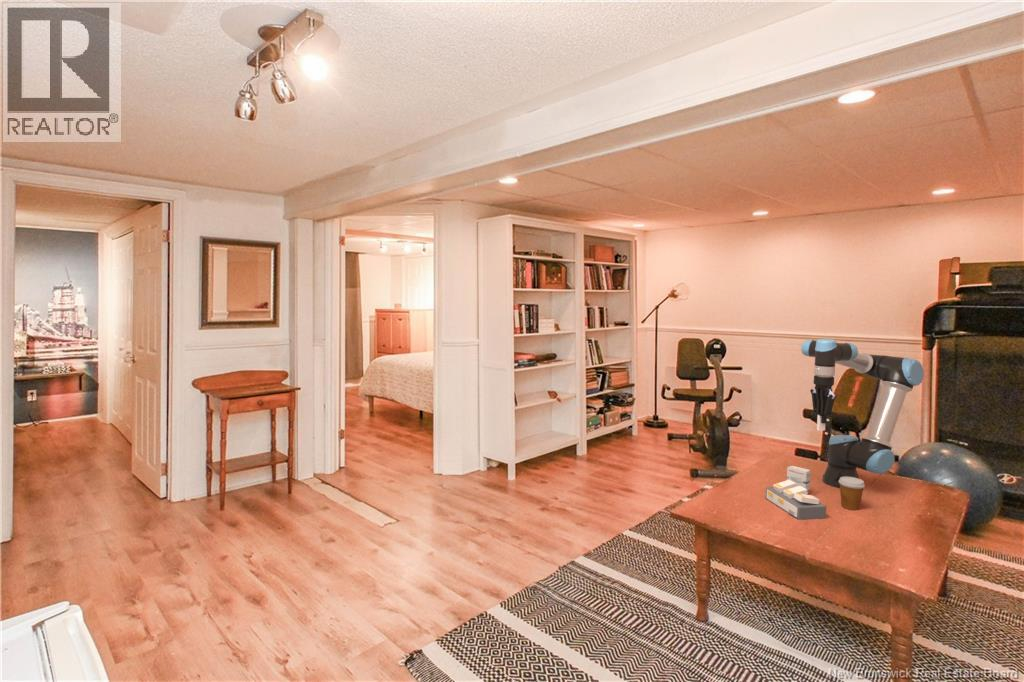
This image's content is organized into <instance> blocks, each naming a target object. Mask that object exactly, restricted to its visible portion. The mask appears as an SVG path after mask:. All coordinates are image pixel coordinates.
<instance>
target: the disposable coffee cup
mask: <svg viewBox="0 0 1024 682" xmlns="http://www.w3.org/2000/svg"><path fill="white" fill-rule="evenodd" d="M839 484H840V488H839V493H840V502H841V503H840V505H841V507H842V508H843V509H845V510H848V511H849V510H851V511H859V510H860V506H861V501H862V497H863V491H864V488H865V486H866V484H865V482H864V480H863V479H862V478H859V479H858V478H854V477H840V480H839Z"/></svg>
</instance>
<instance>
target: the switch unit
mask: <svg viewBox="0 0 1024 682" xmlns="http://www.w3.org/2000/svg"><path fill="white" fill-rule="evenodd" d="M765 488H766V489H765V499H766V500H767V501H769V502H771V504H773V505H775V506H776V507H779V508H780V509H782V510H783V511H784V512H786V513H787V514H789V515H790V516H792V517H794V518H795V519H796V520H799V521H802V520H817V519H819V520H820V519H826V518H827V505H825V504H823V503H822V502H820V501H819V504H812V503H805V502H800V501H798V500H797V499H795V498H792V499H790V498H788V497H786V496H785V495H784V494H783V492H781V493H780V492H778V491H776V490H775V489H773V486H771V487H765Z"/></svg>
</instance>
